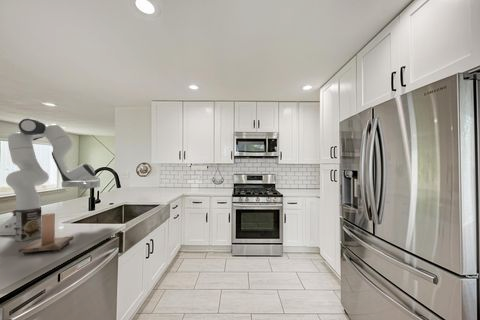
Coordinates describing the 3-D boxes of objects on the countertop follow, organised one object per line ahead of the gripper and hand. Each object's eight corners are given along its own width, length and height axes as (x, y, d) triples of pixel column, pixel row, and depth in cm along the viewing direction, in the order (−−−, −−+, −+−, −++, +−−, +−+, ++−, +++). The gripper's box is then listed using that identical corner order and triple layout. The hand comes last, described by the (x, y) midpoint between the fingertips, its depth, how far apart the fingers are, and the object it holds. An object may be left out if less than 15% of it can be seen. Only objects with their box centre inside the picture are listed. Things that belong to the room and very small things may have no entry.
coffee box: (21, 241, 119) (22, 212, 119) (14, 240, 121) (15, 211, 121) (41, 236, 127) (41, 209, 127) (35, 235, 129) (35, 208, 130)
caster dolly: (18, 257, 99) (18, 249, 99) (37, 245, 113) (37, 239, 113) (59, 253, 104) (59, 245, 104) (73, 242, 117) (73, 236, 117)
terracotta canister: (38, 244, 105) (39, 216, 105) (45, 241, 110) (45, 213, 110) (51, 243, 107) (51, 215, 107) (56, 240, 111) (56, 213, 112)
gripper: (67, 178, 144) (56, 180, 131) (102, 177, 149) (94, 179, 136) (67, 187, 144) (56, 190, 130) (102, 186, 149) (94, 189, 136)
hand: (76, 184), depth 133 cm, fingers open, 8 cm apart
